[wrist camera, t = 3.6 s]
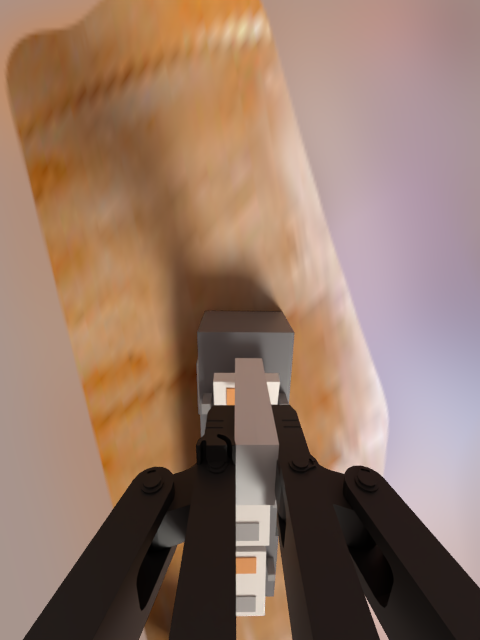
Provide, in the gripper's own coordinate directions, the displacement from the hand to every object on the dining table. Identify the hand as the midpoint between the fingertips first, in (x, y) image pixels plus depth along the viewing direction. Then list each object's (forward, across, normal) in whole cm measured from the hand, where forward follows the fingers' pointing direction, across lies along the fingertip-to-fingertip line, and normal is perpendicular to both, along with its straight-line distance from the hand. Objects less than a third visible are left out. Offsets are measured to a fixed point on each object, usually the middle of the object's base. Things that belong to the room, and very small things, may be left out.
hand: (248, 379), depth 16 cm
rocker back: (+2, 0, +20) cm, 20 cm away
